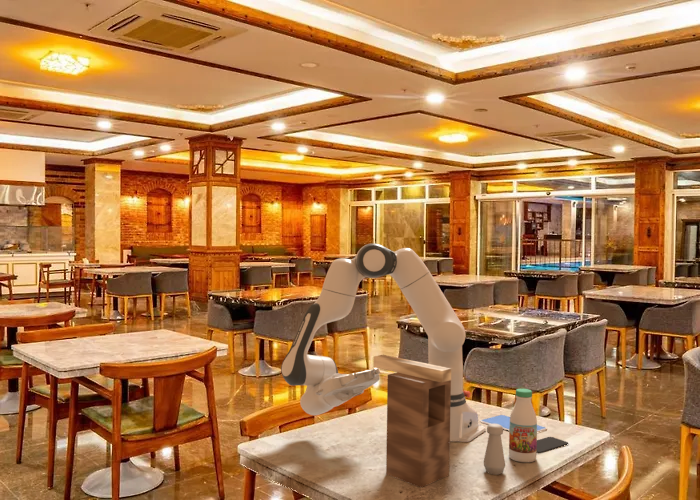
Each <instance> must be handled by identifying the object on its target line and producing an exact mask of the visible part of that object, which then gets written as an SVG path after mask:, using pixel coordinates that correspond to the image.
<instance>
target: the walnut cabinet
mask: <svg viewBox="0 0 700 500" xmlns="http://www.w3.org/2000/svg"><path fill="white" fill-rule="evenodd" d="M386 387H387V389H386V390H387V392H386V393H387V395H386V397H387V398H386V399H387V400H386V455H385V456H386V458H385V459H386V461H385V463H386V464H385V465H386V467H385V473H386V474H385V475H387V476H390V477H392V478H395V479H398V480H400V481H403V482H405V483H407V484H410V485H413V486H416V487H418V488H423V487H426V486H428V485H431V484H433V483H435V482H437V481H439V480H442V479H444V478H446V477H449V476H450V457H451V455H450V449H451V448H450V447H451V446H450V445H451V441H450V402H451V380H449V381H446V382H437V381H433V380H428V379H424V378H420V377H415V376H411V375H406V374H402V373H398V372H393V373H389V374H387V386H386Z"/></svg>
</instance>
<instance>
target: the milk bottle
mask: <svg viewBox="0 0 700 500" xmlns="http://www.w3.org/2000/svg"><path fill="white" fill-rule="evenodd" d="M515 398H516V399H515V404H514V406H513V408H512V410H511V412H510V416H509V417H510V427H509V431H508V432H509V436H508V456H509V458H510V459H511V460H513V461H516V462H518V463H533V462H535V461H536V460H537V453H536V452H537V440H538V433H537V425H538V421H537V414H536V410H534V407H533V403H532V399H533V391H532V390H531V389H528V388H517V389H515Z"/></svg>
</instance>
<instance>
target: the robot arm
mask: <svg viewBox="0 0 700 500" xmlns="http://www.w3.org/2000/svg"><path fill="white" fill-rule="evenodd" d="M388 275H389V276H390V277H391V278H392V279H393V280H394V281H395V283H396V285H397V286H398V288H399V289H400V291H401V293H402V295H403V296H404V298H405V299H406V301H407V303H408V304H409V306H410V307H411V309H412V310H413V313H414V314H415V316H416V317H417V320H418V321H419V323H420V325H421V326H422V328H423V329H424V331H425V333H426V335H427V338H428V339H427V340H428V341H427V342H428V343H427V345H428V346H427V347H428V348H427V349H428V351H427V353H428V355H427V356H428V358H427V359H428V362H427V364H431V365H436V366H441V367H446V368H451V402H450V442H463V443H467V442H468V443H469V442H471V441H472V440H474V439H475V438H476V437H478V436H480V435H481V434H482V433H484V432H485V431H487V428H486V427H485V426H484V425H482V424H480V423H479V416H478V412H477V411H476V410H475V409H474V408H473V407H472V406H470V404H468V403H467V400H466V398H470V397H471V392H470V391H469V390H468V391H467V390H463V388H464V385H463V384H464V383H463V382H464V365H463V363H464V361H463V345H464V343H465V340H466V335H467V334H466V329H465V327H464V324H462V321H461V320H460V318H459V317H458V315H457V314H456V312H455V310H454V309H453V307H452V305H451V304H450V302H449V301H448V299H447V298H446V296H445V294H444V292H443V291H442V290H441V288H440V286H439V285H438V282H437V281H436V279H435V278H434V276H433V275H432V273H431V270H429V268H428V267H427V266H426V264H425V263H424V261H423V260H422V258H421V257H420V256H419V255H418V254H417V253H416V252H415V250H414V249H412V248H409V247H402V248H399V249H397V250H395V251H393V250H391V249H389V248H387V247H386V246H384V245H382V244H378V243H368V244H365V245H364V246H362V247H361V248H360V249H359V250H358V251H357V254H356V255H355V256H353V258H352V259H351V258H344V257H343V258H341V257H340V258H336V259H335V260H333V261H332V262H331V263H330V266H329V268H328V270H327V273H326V276H325V278H324V282H323V284H322V288H321V292H320V293H319V296H318V298H317V299H316V301H315V302H314V303H312V304H311V305H309V306H308V308H307V309H306V311H305V313H304V315H303V317H302V319H301V322H300V324H299V327H298V330H297V331H296V334H295V336H294V339H293V341H292V344H291V346H290V348H289V351H288V352H287V353H286V355H285V357H284V359H283V361H282V363H281V367H280V373H281V375H282V378H283V379H284V381H285V382H286V383H287V384H288V385H289V386H293V387H294V386H306V388H305V391H304V393H303V394H302V396H301V397H300V399H299V400H300V401H299V403H300V407H301V408H302V411H304V412H305V413H306V414H308V415H310V416H319V415H322V414H325V413H327V412H329V411H331V410H332V409H334V408H335V407H339V406H340V405H342V404H344V403H346V402H348V401H349V400H351V399H352V398H355V397H357V396H360V395H362V394H364V392H365V390H366V389H368V388H370V387H371V386H373V385H375V384H376V383H378V382H379V381H380V378H381V377H380V373H381V372H380V371H381V370H380V368H376V367H373V368H372V369H368V370H364V371H358V372H353V373H348V374H347V373H339V370H338V367H337V363H336V362H335V360H334V359H333V358H332V357H330V356H323V355H316V354H315V355H314V354H313V355H312V354H308V351H310V350H309V349H310V347H311V344H312V342H313V340H314V337H315V334H316V333H317V331H318V330H319V329H320V328H321V327H322V326H325V325H326V324H329V323H332V322H337V321H340V320H342V319H344V318H346V317H347V316H349V314H350V313H351V311H352V309H353V307H354V304H355V300H356V296H357V292H358V287H359V285H360V282H361V281H363V280H364V279H366V278H367V279H368V278H369V279H378V278H380V277H383V276H388Z"/></svg>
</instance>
